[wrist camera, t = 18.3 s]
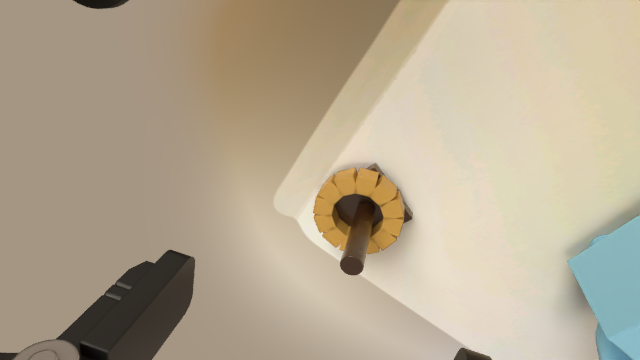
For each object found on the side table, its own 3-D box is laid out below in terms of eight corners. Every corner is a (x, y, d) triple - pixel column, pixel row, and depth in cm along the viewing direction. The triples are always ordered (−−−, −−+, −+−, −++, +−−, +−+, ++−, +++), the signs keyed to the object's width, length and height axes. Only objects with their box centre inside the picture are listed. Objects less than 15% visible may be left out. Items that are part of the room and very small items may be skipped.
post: (323, 194, 45) (295, 252, 35) (375, 162, 42) (361, 217, 32) (360, 240, 46) (343, 308, 36) (412, 213, 43) (409, 280, 33)
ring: (301, 205, 45) (296, 214, 43) (357, 150, 40) (353, 158, 39) (362, 257, 46) (360, 268, 44) (422, 209, 41) (422, 219, 40)
